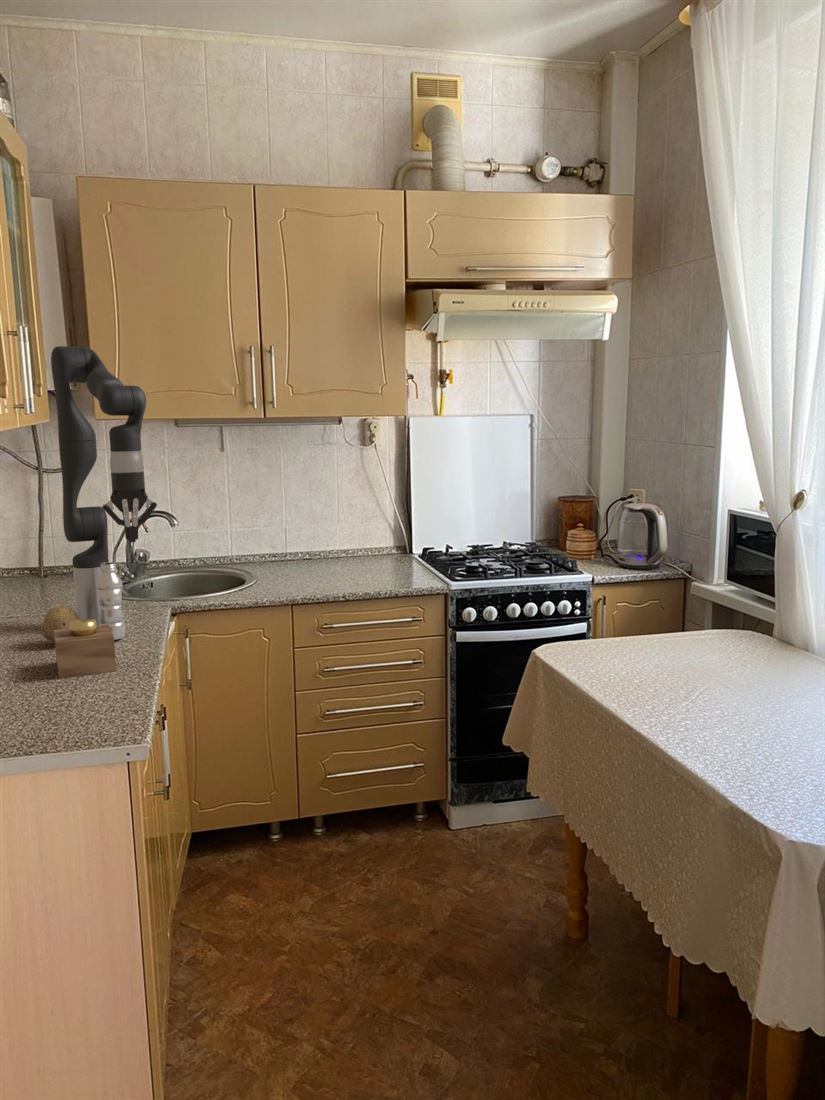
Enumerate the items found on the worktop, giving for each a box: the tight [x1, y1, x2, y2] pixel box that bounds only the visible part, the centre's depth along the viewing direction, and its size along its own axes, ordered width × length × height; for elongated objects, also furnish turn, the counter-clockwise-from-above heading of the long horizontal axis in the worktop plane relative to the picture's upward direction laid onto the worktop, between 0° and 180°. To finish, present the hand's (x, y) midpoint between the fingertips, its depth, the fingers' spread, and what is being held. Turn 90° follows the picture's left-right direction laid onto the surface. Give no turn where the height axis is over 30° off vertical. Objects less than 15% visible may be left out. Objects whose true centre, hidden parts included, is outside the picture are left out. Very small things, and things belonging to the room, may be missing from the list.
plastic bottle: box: [96, 562, 126, 641], centre depth 215 cm, size 6×7×20 cm
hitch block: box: [54, 624, 117, 679], centre depth 191 cm, size 13×12×8 cm
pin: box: [70, 619, 97, 636], centre depth 191 cm, size 6×6×10 cm
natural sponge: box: [40, 605, 79, 644], centre depth 211 cm, size 9×9×10 cm
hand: (132, 541), depth 202 cm, fingers closed
